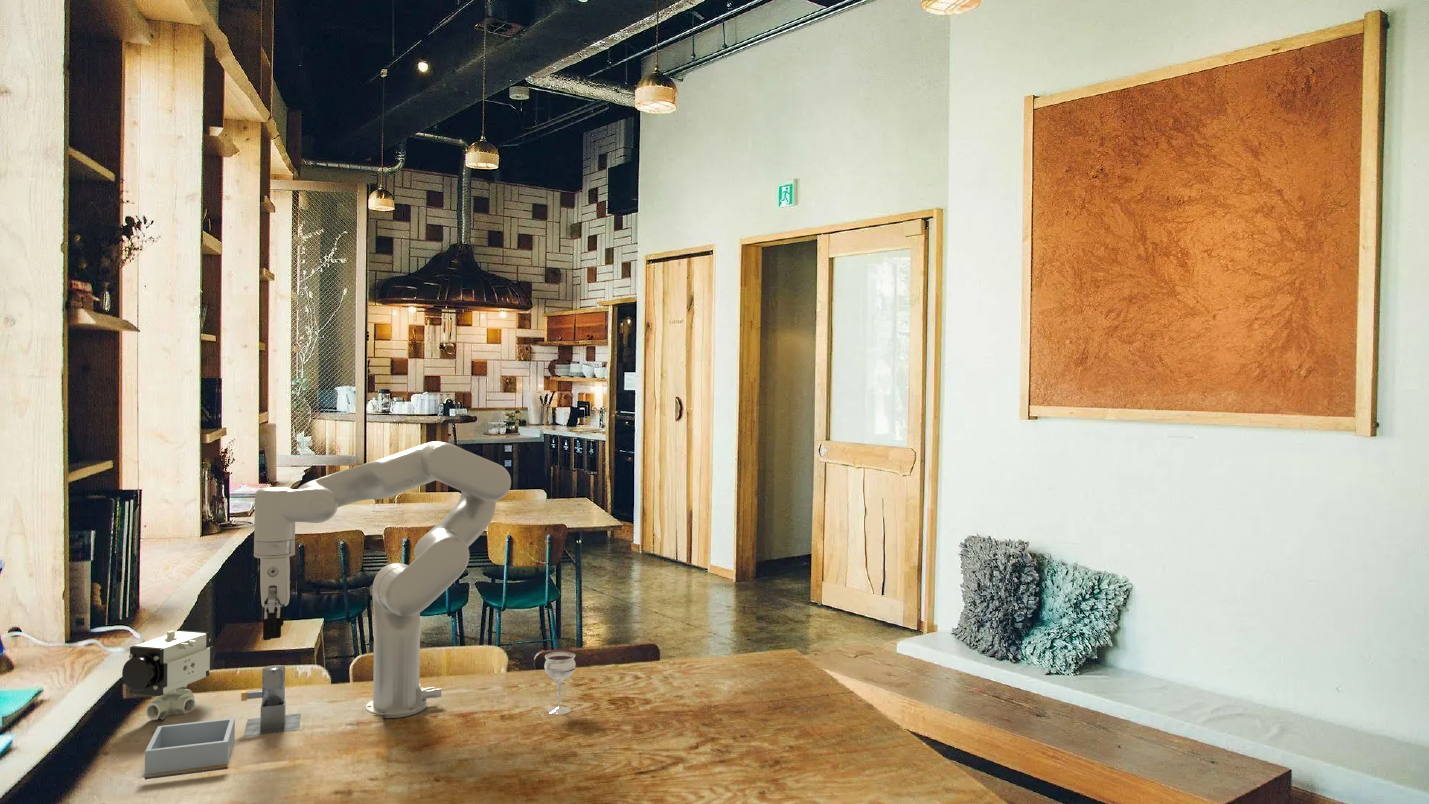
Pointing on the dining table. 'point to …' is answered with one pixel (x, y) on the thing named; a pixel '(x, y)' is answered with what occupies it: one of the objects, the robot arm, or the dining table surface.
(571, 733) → the dining table surface
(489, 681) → the dining table surface
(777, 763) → the dining table surface
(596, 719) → the dining table surface
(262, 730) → the stud plate
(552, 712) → the wineglass
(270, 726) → the grey upright piece
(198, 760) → the tub
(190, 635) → the ball valve
